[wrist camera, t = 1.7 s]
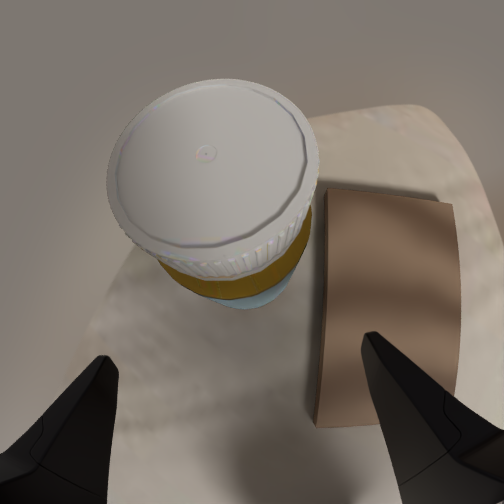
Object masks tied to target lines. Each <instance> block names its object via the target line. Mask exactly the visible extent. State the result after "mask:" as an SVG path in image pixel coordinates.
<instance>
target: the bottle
mask: <svg viewBox="0 0 504 504" xmlns="http://www.w3.org/2000/svg"><path fill="white" fill-rule="evenodd" d="M318 153H319V151H318V149H317V143H316V139H315V136H314V133H313V131H312V128H311V126H310V124H309V122H308V121H307V119H306V118H305V116H304V115H303V114H302V112H301V111H300V110H299V109H298V108H297V107H296V106H295V105H294V104H293V103H292V102H291V101H290V100H288V99H287V98H285V97H284V96H282V95H281V94H280V93H278V92H276V91H274V90H272V89H270V88H268V87H266V86H263V85H260V84H257V83H253V82H249V81H244V80H237V79H212V80H205V81H199V82H195V83H191V84H188V85H185V86H182V87H179V88H177V89H174V90H172V91H170V92H168V93H166V94H164V95H162V96H161V97H159V98H157V99H156V100H154V101H153V102H151V103H150V104H149V105H147V106H146V107H145V108H144V109H143V110H141V111H140V112H139V113H138V114H137V115H136V116H135V117H134V118H133V119H132V121H131V122H130V123H129V124H128V125H127V127H126V128H125V129H124V131H123V132H122V134H121V135H120V137H119V139H118V141H117V143H116V145H115V147H114V149H113V152H112V154H111V157H110V161H109V165H108V171H107V194H108V199H109V203H110V206H111V209H112V212H113V214H114V216H115V218H116V220H117V221H118V223H119V226H120V227H121V228H122V229H123V230H124V231H125V234H126V235H127V236H128V237H129V238H131V239H132V241H133V243H135V244H136V245H137V246H139V247H141V249H142V250H144V251H145V252H147V253H149V254H150V255H152V256H153V257H155V258H157V259H158V261H159V263H160V264H161V266H162V267H163V268H164V269H165V270H166V271H167V272H168V274H169V275H170V276H171V277H172V278H173V279H174V280H175V281H177V282H178V283H179V284H181V285H182V286H184V287H186V288H187V289H189V290H191V291H193V292H195V293H196V294H198V295H201V296H203V297H205V298H208V299H210V300H213V301H215V302H218V303H220V304H222V305H225V306H227V307H230V308H237V309H252V308H258V307H261V306H263V305H265V304H267V303H269V302H271V301H273V300H274V299H275V298H276V297H277V296H278V295H279V294H280V293H281V292H282V291H283V290H284V289H285V287H286V285H287V284H288V282H289V280H290V278H291V276H292V274H293V272H294V270H295V268H296V266H297V264H298V262H299V260H300V258H301V256H302V254H303V252H304V249H305V247H306V245H307V242H308V239H309V235H310V228H311V218H312V212H311V205H310V203H311V200H312V197H313V194H314V191H315V188H316V185H317V178H318V175H319V169H318V166H319V158H318Z"/></svg>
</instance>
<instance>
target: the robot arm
mask: <svg viewBox="0 0 504 504" xmlns="http://www.w3.org/2000/svg"><path fill="white" fill-rule="evenodd" d="M361 356H362V361H363V365H364V369H365V374H366V378H367V383H368V388H369V392H370V395H371V398H372V401H373V404H374V407H375V410H376V413H377V416H378V419H379V422H380V426H381V429H382V432H383V435H384V438H385V442H386V445H387V448H388V452H389V455H390V459H391V462H392V466H393V469H394V473H395V476H396V480H397V484H398V488H399V492H400V496H401V500H402V504H504V430H502V429H500V428H498V427H496V426H494V425H493V424H491V423H490V422H488V421H487V420H485V419H484V418H482V417H481V416H479V415H478V414H477V413H475V412H474V411H472V410H471V409H469V408H468V407H467V406H465V405H464V404H463V403H461V402H460V401H459V400H458V399H456V398H455V397H454V396H453V395H452V394H450V393H449V392H448V391H447V390H445V388H443V387H442V386H441V385H440V384H439V383H438V382H436V381H435V380H434V379H433V378H432V377H431V376H429V375H428V374H427V373H426V372H425V371H424V370H422V369H421V368H420V367H419V366H418V365H416V364H415V363H414V362H413V361H412V360H411V359H409V358H408V357H407V356H406V355H405V354H403V353H402V352H401V351H400V350H399V349H397V348H396V347H395V346H394V345H393V344H391V343H390V342H389V341H388V340H387V339H386V338H384V337H383V336H382V335H381V334H380V333H378V332H377V331H371V332H366V333H365V334H364V336H363V341H362V345H361ZM118 379H119V372H118V369H117V367H116V366H115V364H114V363H113V361H112V360H111V358H110V357H109V356H107V355H99V356H97V357H96V358H95V359H94V360H93V361H92V362H91V363H90V365H89V366H88V367H87V368H86V369H85V370H84V371H83V372H82V373H81V374H80V375H79V376H78V377H77V378H76V379H75V380H74V381H73V382H72V383H71V384H70V385H69V386H68V388H67V389H66V390H65V391H64V392H63V393H62V394H61V395H60V396H59V397H58V398H57V399H56V400H55V401H54V403H53V404H52V405H51V406H50V407H49V408H48V409H47V410H46V411H45V412H44V414H43V415H42V416H41V417H40V418H39V419H38V420H37V421H36V422H35V423H34V424H33V425H32V426H31V427H30V428H29V429H28V431H26V432H25V433H24V434H23V435H22V436H21V437H20V438H19V439H18V440H17V441H16V442H15V443H14V444H13V445H11V446H10V447H9V448H8V449H7V450H6V451H5V452H3V453H1V454H0V504H107V491H108V477H109V465H110V455H111V446H112V438H113V430H114V423H115V417H116V409H117V394H118Z"/></svg>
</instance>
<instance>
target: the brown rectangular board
mask: <svg viewBox="0 0 504 504" xmlns="http://www.w3.org/2000/svg"><path fill="white" fill-rule="evenodd" d="M324 215H325V252H324V293H323V315H322V332H321V347H320V360H319V371H318V382H317V392H316V401H315V409H314V418H313V423H314V425H315V427H316V428H334V427H351V426H364V425H374V424H380V422H379V419H378V416H377V413H376V410H375V407H374V404H373V401H372V398H371V395H370V392H369V388H368V383H367V378H366V374H365V369H364V365H363V361H362V356H361V345H362V341H363V336H364V334H365V333H366V332H371V331H377V332H378V333H380V334H381V335H382V336H383V337H384V338H386V339H387V340H388V341H389V342H390V343H391V344H393V345H394V346H395V347H396V348H397V349H399V350H400V351H401V352H402V353H403V354H405V355H406V356H407V357H408V358H409V359H411V360H412V361H413V362H414V363H415V364H416V365H418V366H419V367H420V368H421V369H422V370H424V371H425V372H426V373H427V374H428V375H429V376H431V377H432V378H433V379H434V380H435V381H436V382H438V383H439V384H440V385H441V386H442V387H443V388H445V390H447V391H448V392H449V393H450V394H452V395H453V396H454V392H455V386H456V378H457V370H458V360H459V349H460V332H461V281H460V264H459V252H458V242H457V233H456V226H455V219H454V212H453V206H452V204H449V203H443V202H437V201H431V200H424V199H418V198H411V197H404V196H396V195H389V194H381V193H372V192H364V191H354V190H344V189H334V188H327V190H326V193H325V195H324Z"/></svg>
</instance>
